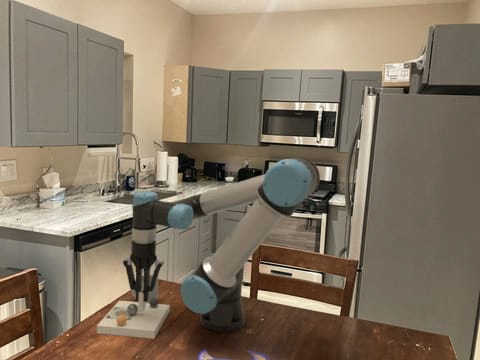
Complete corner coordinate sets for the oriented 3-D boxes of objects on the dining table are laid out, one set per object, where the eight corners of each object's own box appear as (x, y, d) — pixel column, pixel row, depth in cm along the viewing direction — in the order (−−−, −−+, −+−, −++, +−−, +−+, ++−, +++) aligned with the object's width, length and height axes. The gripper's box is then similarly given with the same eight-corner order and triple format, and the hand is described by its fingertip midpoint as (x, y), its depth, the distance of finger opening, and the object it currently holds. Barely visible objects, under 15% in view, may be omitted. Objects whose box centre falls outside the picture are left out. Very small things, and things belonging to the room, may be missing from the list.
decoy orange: (128, 322, 127) (128, 313, 126) (124, 327, 124) (124, 318, 123) (118, 321, 127) (118, 312, 126) (114, 326, 124) (115, 317, 124)
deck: (169, 311, 141) (169, 305, 140) (154, 338, 123) (154, 330, 122) (119, 307, 142) (119, 300, 142) (96, 333, 124) (96, 325, 124)
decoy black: (159, 304, 140) (159, 296, 140) (156, 308, 137) (157, 300, 137) (150, 304, 140) (151, 295, 140) (148, 307, 137) (148, 299, 137)
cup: (153, 307, 143) (154, 283, 142) (126, 304, 145) (127, 280, 143) (160, 299, 150) (161, 276, 149) (135, 296, 152) (135, 273, 150)
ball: (140, 303, 133) (130, 300, 134) (136, 308, 130) (126, 305, 130) (138, 313, 134) (128, 310, 134) (134, 318, 130) (124, 315, 131)
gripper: (167, 238, 132) (164, 307, 135) (128, 235, 133) (126, 303, 136) (160, 245, 124) (157, 317, 128) (119, 241, 125) (117, 313, 129)
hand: (141, 310), depth 132 cm, fingers closed
